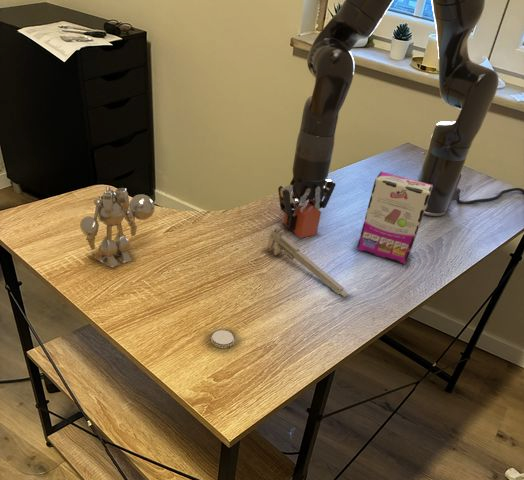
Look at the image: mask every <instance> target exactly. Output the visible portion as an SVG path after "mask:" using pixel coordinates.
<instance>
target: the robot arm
mask: <svg viewBox="0 0 524 480" xmlns="http://www.w3.org/2000/svg"><path fill="white" fill-rule="evenodd" d="M485 1H486V0H431V6H432V12H433V18H434V24H435V30H436V41H437V43H436V44H437V51H438V86H439V89H438V90H439V95H440V98H441V100H442V101H443V102H444V103H445V104H446V105H448V106H450V107H452V108H454V109H456V110H459V111H460V112H459V114H458V115H457V118H456V119H455V120H444V121H439V122H438V123H436V124H435V126H434V128H433V131H432V134H431V137H430V141H429V143H428V146H427V149H426V152H425V156H424V159H423V162H422V165H421V167H420V169H419V173H418V177H417V179H416V181H420V182H423V183H427V184H431V185H433V187H432V190H431V193H430V196H429V199H428V202H427V205H426V208H425V211H424V214H423V216H428V217H442V216H444V215H445V214H447V212H448V211H449V209H450V208H451V204H452V202H456V203H457V204H459V205H471V204H477V203H485V202H491V201H495V200H499V198H501V196H502V195H504V194H506V193H511V192H517V191H518V192H521V193H522V194H523V195H524V188H520V187H514V188H513V187H512V188H507V189H503V190H501V191H500V192H499V193H498V194H497V195H496V196H492V197H488V198H477V199H473V200H467V201H464V200H460V194H461V191H462V189H461V188H460V187H458V186H459V184H460V181H461V179H462V171H463V168H464V165H465V163H466V160H467V158H468V156H469V153H470V150H471V147H472V145H473V142H474V140H475V138H476V137H477V136H478V134H479V132H480V130H481V128H482V126H483V123H484V121H485V119H486V116H487V115H488V112H489V110H490V108H491V106H492V103H493V101H494V98H495V97H496V95H497V91H498V87H499V75H498V73H497V72H496V71H495V70H493V69H491V68H489V67H486V66H484V65H481V64H478V63H476V62H473V61H472V60H471V59H470V56H469V50H468V49H469V47H468V41H469V37H470V36H471V35H472V32H473V31H474V30H475V28H476V26H477V25H478V23H479V22H480V19H481V18H482V15H483V12H484V9H485V3H486V2H485ZM393 2H394V0H344V1H343V2H342V4H341V6H340V9H339V10H338V11H337V13H335V14H334V15H333V17H332V18H331V19H330V20H329V21H328V22H327V24H326V25H325V26H324V27H323V28H322V30H321V31H320V32H319V34H317V35H316V37H315V39H314V41H313V42H312V44H311V47H310V48H309V51H308V54H307V58H306V59H307V60H306V63H307V68H308V71H309V73H310V74H311V75H312V77H314V79H315V82H314V87H313V91H312V95H311V96H309V97H308V98H306V100H305V103H304V106H303V111H302V116H301V123H300V128H299V132H298V136H297V140H296V145H295V152H294V158H293V164H292V178H291V180H290V183H289V184H288V185H286V186H283V185H279V186H278V188H277V190H278V199H279V200H278V201H279V208H280V210H281V211H282V212H283V213H284V214H285V213H286V214H287V221H286V225H285V226H286V227H287V229H288V230H290V232H293V231H294V230H295V227H296V222H297V214H298V212H299V210H300V208H301V207H303V205H304V202H305V201H306V200H307V201H308V202H309V203H310V204H312V205H313V206H314V207H315V208H317V209H318V210H319V211H321V209H325V208H326V207H327V205H328V204H329V201H330V199H331V196H332V194H333V192H334V190H335V187H336V186H337V185H336V183H335V182H334V181H333V180H332V179H330V178H329V177H328V176H329V173H330V169H331V163H332V159H333V153H334V149H335V141H336V132H337V128H338V123H339V118H340V112H341V109H342V108H343V105H344V104H345V101H346V98H347V96H348V93H349V91H350V89H351V86H352V83H353V79H354V73H355V60H354V57H353V55H352V52H351V51H352V49H353V48H354V46H356V44H357V43H358V42H359V40H364V39H368V38H369V37H370V36H371V35H372V34H373V32H374V31H375V30H376V28H377V27H378V25H379V24H380V22H381V21H382V19H383V17H384V15H386V12H387V11H388V9H389V8H390V6H391V5H392V3H393ZM297 199H299V201H298V200H297ZM294 205H295V207H294ZM293 208H294V209H293Z"/></svg>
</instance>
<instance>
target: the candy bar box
mask: <svg viewBox="0 0 524 480" xmlns="http://www.w3.org/2000/svg"><path fill="white" fill-rule="evenodd" d="M432 187H433V185H431V184H427V183H423V182H420V181H417V179H411V178H408V177H404V176H400V175H396V174H393V173H388V172H385V171H380V172H379V174H378V175H377V176H376V177H375V179H374V183H373V186H372V190H371V194H370V197H369V202H368V205H367V210H366V213H365V217H364V220H363V224H362V228H361V231H360V232H361V233H360V236H359V239H358V242H357V245H356V246H357V247H356V250H357V251H360V252H364V253H365V254H370V255H373V256H376V257H379V258H383V259H386V260H389V261H393V262H397V263H399V264H404V265H406V264H407V261H408V260H409V257H410V254H411V252H412V249H413V246H414V243H415V240H416V237H417V234H418V232H419V229H420V227H421V222H422V221H423V217H424V211H425V208H426V205H427V202H428V199H429V196H430V193H431V190H432Z"/></svg>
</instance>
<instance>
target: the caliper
mask: <svg viewBox="0 0 524 480" xmlns="http://www.w3.org/2000/svg"><path fill="white" fill-rule="evenodd" d="M283 233H284V229H282V230H281V227H280V226H276V227H275V229H272V230H271V233H270V234H269V237H268V242H267V252H271V251H272V250H273V249H274V251H273V256H277V255H278V254H280V253H281V252H282V251H283V253H284V254H285V255H286V256H287V257H289V258H290V260H296V261H298V262H299V263H300V264H301V265H302V266H303V267H305V268H306V269H307V270H308V271H309V272H310V273H312V274H313V275H314V276H315V277H316V278H317V279H319V280H320V281H321V282H322V283H324V285H326V286H327V287H328V288H329V289H330V290H331V291H333V292H334V293H335V294H337V295H338V296H339V295H341V296H342V297H343V298H345V297H347V296H348V292H346V291H345V288H344V286H342V285H341V284H340V283H339V282H338V281H336V279H334V278H333V277H332V276H330V275H329V274H328V273H327V272H326V271H324V269H322V267H320V266H319V265H318V264H316V263H315V262H314V261H313V260H311V259H310V258H309V257H308V256H307V255H305V254H304V253H303V252H301V250H300V248H299V246H297V245H296V244H295V243H294V242H292V241H291V240H290V239H289V238H288V237H287V236H286V235H283ZM275 244H277V245H276V247H275V248H274V246H275Z"/></svg>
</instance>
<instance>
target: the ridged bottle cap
mask: <svg viewBox="0 0 524 480" xmlns="http://www.w3.org/2000/svg"><path fill="white" fill-rule="evenodd" d="M235 341H236V336H235V334H234V333H233V332H232V331H230V330H228V329H217V330H214V331H213V332H212V333H211V334H210V342H211V344H212V345H213V346H215V347H216V348H220V349H227V348H230V347H233V345H235Z"/></svg>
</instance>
